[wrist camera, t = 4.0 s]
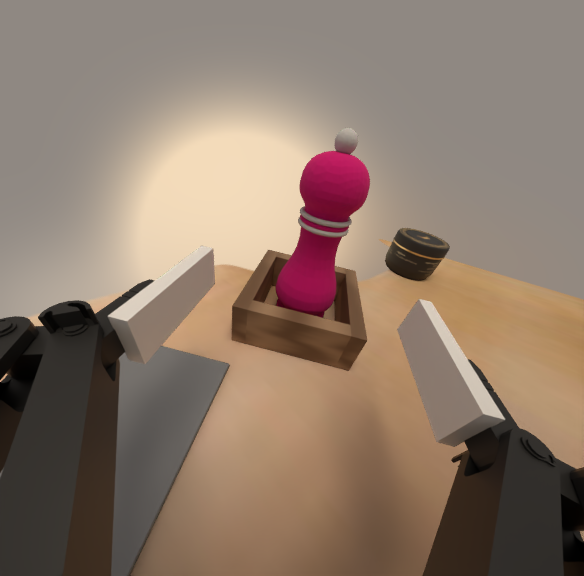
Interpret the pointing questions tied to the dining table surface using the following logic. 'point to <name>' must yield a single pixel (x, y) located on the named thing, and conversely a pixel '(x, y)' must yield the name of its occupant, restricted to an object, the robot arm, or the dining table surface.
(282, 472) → the dining table surface
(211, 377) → the mat
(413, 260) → the jar
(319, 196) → the pepper mill
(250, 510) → the dining table surface
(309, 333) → the walnut box
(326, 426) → the dining table surface
